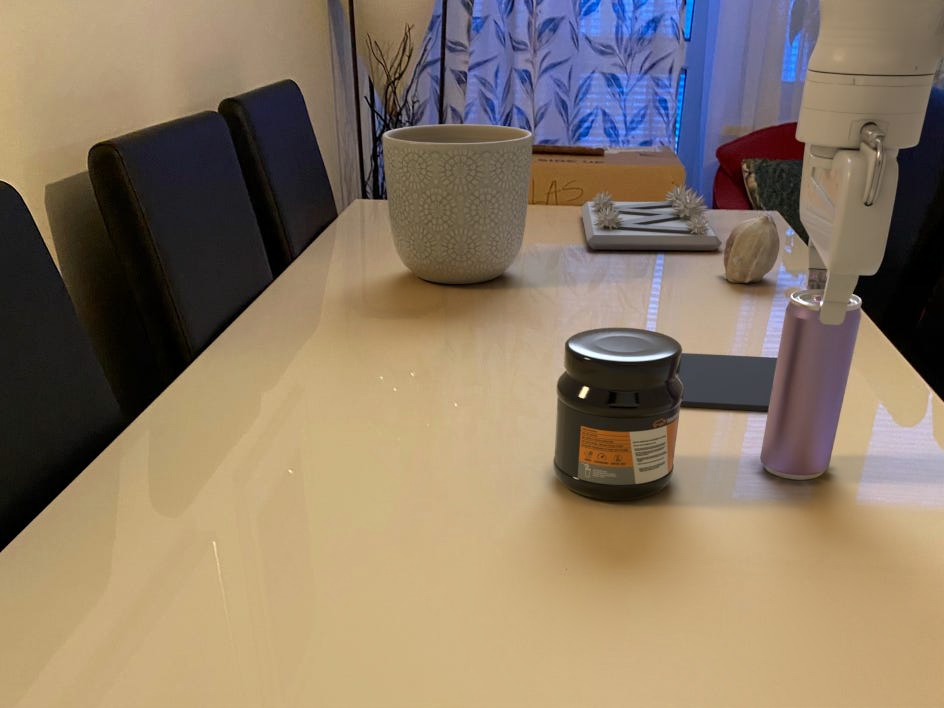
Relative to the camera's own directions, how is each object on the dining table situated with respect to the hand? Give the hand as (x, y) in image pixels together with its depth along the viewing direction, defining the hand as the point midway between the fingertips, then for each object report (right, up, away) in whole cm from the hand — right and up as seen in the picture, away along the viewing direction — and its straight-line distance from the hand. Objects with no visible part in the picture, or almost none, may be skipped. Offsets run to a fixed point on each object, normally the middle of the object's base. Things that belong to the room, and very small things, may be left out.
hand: (822, 305), depth 81 cm
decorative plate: (+2, +43, +90) cm, 100 cm away
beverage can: (0, -12, +8) cm, 15 cm away
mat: (+1, 0, +26) cm, 26 cm away
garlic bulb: (+12, +25, +63) cm, 69 cm away
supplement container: (-16, -13, +6) cm, 22 cm away
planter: (-30, +27, +66) cm, 78 cm away
